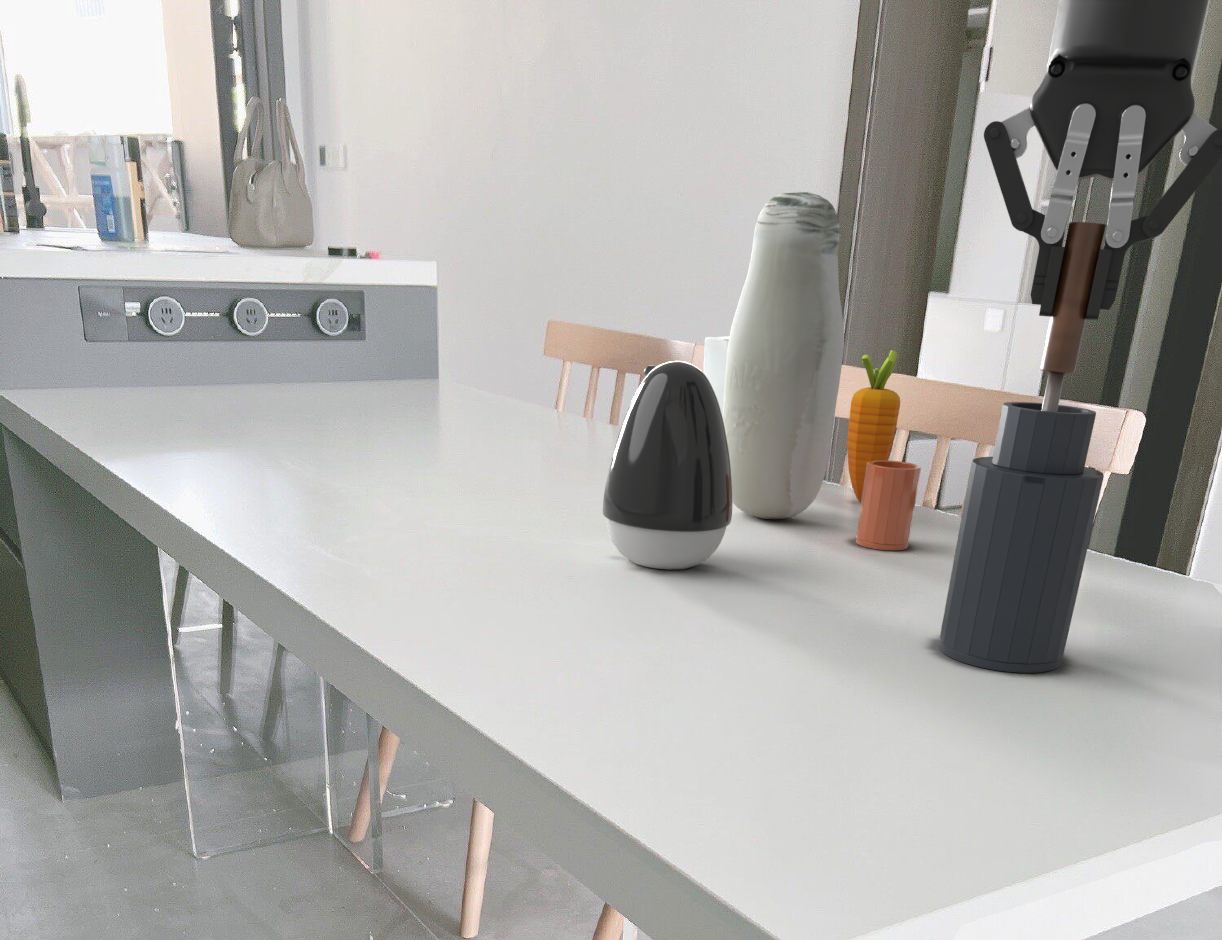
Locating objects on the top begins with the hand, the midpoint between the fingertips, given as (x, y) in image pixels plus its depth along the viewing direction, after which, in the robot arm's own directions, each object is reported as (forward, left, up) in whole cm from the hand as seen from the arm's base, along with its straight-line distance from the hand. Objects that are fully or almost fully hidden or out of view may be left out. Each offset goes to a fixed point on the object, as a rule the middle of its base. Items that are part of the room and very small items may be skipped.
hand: (1068, 316), depth 72 cm
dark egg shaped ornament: (+27, -12, -21) cm, 36 cm away
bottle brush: (0, 0, -19) cm, 19 cm away
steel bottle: (0, 0, -21) cm, 21 cm away
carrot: (+17, -50, -21) cm, 57 cm away
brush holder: (+12, -30, -21) cm, 38 cm away
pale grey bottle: (+24, -36, -21) cm, 48 cm away
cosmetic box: (+32, -56, -21) cm, 68 cm away
